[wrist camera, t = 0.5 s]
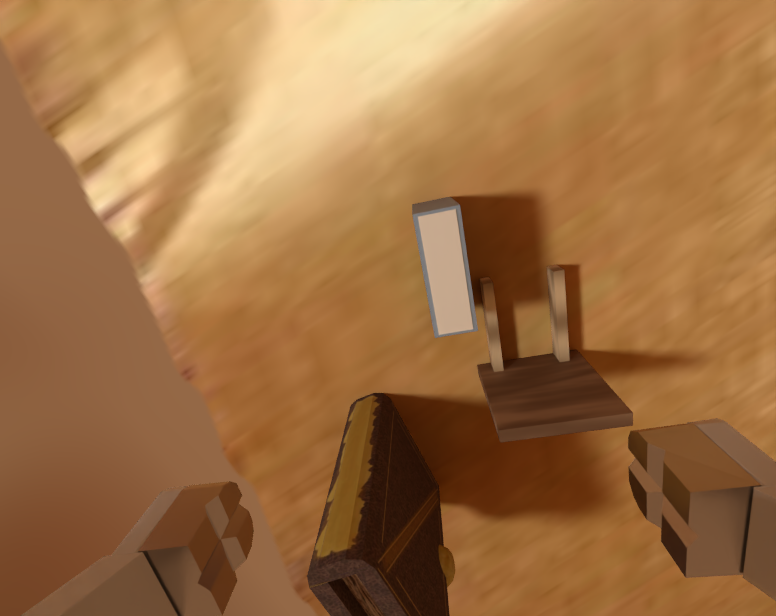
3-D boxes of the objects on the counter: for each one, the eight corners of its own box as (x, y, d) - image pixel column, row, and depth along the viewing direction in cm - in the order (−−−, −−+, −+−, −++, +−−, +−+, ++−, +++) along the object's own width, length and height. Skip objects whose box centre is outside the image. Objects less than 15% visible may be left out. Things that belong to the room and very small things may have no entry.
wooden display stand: (464, 281, 49) (484, 323, 36) (572, 261, 48) (632, 298, 35) (478, 374, 54) (500, 442, 41) (577, 359, 52) (632, 425, 39)
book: (339, 406, 57) (287, 576, 33) (392, 385, 55) (376, 549, 32) (403, 513, 63) (398, 720, 40) (453, 498, 61) (478, 704, 38)
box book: (412, 204, 47) (412, 214, 37) (450, 196, 46) (460, 204, 37) (430, 305, 51) (435, 338, 41) (465, 299, 50) (477, 331, 41)
